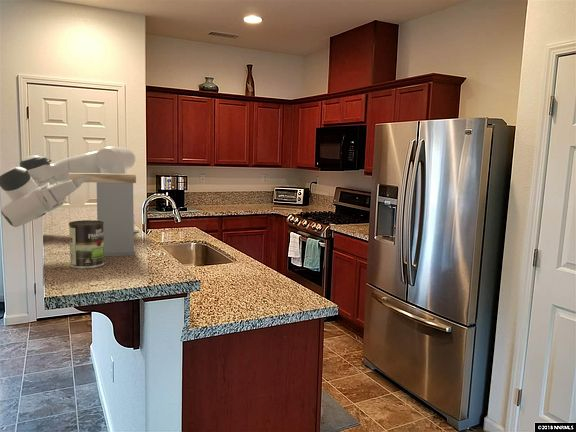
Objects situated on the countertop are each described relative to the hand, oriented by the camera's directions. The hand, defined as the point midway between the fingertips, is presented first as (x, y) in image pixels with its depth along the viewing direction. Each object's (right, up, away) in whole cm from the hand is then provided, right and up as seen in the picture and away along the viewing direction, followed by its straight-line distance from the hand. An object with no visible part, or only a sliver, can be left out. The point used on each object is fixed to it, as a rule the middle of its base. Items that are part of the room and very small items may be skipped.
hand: (88, 176), depth 157 cm
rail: (+4, -2, +2) cm, 5 cm away
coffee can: (+5, -30, -11) cm, 32 cm away
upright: (+7, -28, +7) cm, 29 cm away
